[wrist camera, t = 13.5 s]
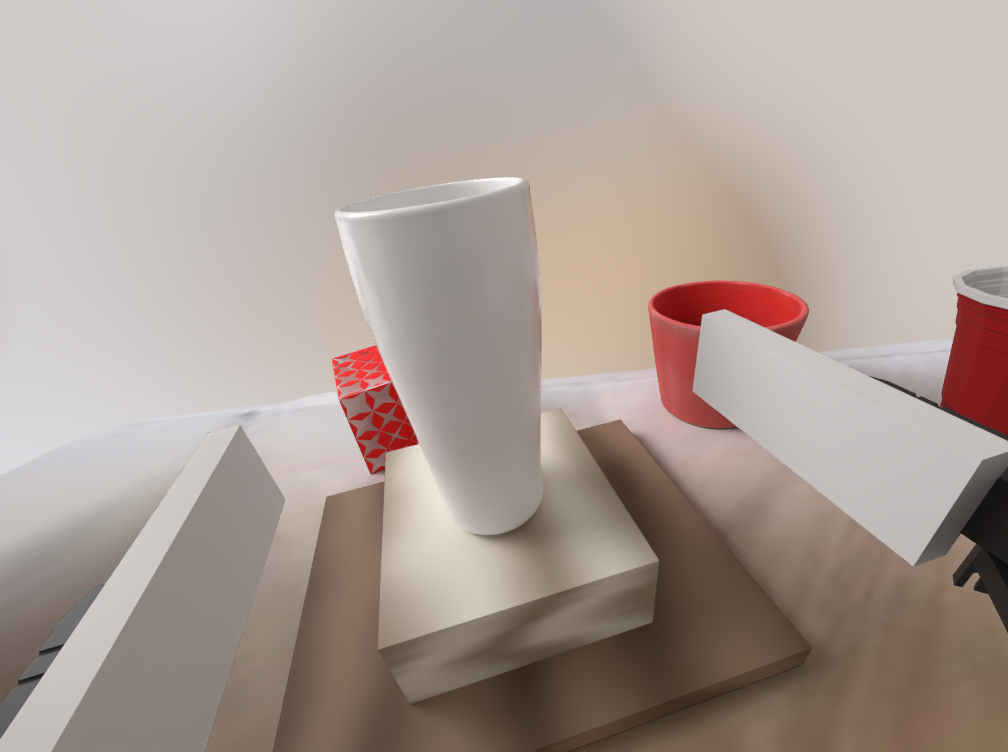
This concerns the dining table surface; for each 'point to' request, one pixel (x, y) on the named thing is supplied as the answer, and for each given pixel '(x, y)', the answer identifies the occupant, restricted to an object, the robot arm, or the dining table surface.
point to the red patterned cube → (372, 406)
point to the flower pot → (680, 331)
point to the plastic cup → (980, 349)
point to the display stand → (522, 611)
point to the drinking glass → (459, 335)
